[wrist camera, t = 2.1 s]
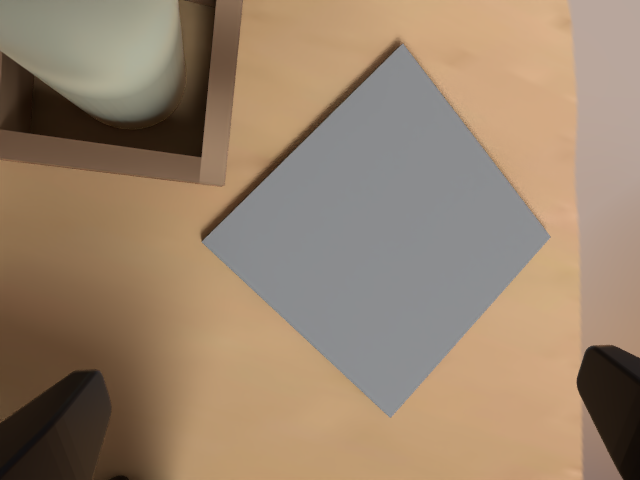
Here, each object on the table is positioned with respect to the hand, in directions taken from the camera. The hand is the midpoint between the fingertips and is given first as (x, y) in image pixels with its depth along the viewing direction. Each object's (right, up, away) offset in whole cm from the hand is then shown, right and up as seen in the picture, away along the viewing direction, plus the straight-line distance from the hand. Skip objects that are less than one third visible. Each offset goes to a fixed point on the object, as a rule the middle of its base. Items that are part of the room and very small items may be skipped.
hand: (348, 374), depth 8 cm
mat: (+3, +3, +15) cm, 16 cm away
